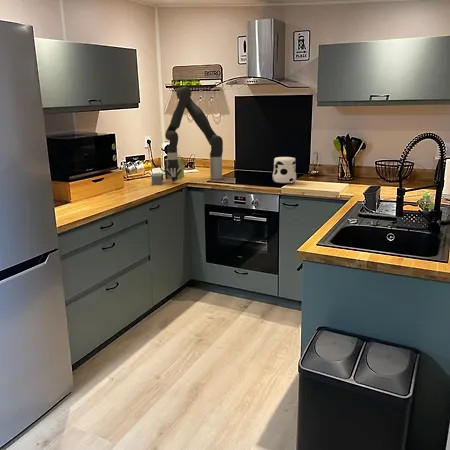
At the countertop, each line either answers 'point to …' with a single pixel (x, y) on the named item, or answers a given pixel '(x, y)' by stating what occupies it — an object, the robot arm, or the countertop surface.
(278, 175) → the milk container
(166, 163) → the protein box
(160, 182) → the overhang dock
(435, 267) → the countertop surface
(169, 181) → the shell plate
